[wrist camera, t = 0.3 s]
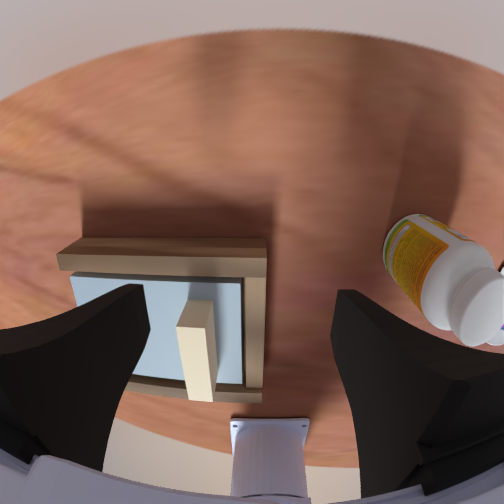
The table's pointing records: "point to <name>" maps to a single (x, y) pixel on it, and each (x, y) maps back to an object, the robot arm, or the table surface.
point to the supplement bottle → (446, 277)
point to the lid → (183, 326)
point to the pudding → (500, 336)
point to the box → (188, 264)
